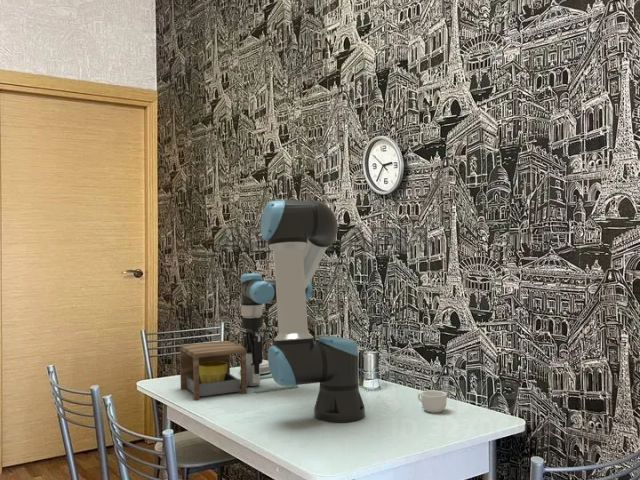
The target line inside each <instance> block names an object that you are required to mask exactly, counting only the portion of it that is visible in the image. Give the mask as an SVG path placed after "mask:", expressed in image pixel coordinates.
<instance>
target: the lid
mask: <svg viewBox="0 0 640 480" xmlns="http://www.w3.org/2000/svg"><path fill="white" fill-rule="evenodd" d="M239 366H240V367H241V364H239ZM239 372H240V373H241V369H240V371H239ZM268 373H271V372H270V368H269V363H268V359H267V360H266V359H262V363H261V364H260V375H262V374H263V375H265V374H268Z"/></svg>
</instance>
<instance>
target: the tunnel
mask: <svg viewBox="0 0 640 480" xmlns="http://www.w3.org/2000/svg"><path fill="white" fill-rule="evenodd" d="M236 354H237V355H239V354H240V356H239V358H240V364H241V366H240V370H241V372H240V379H241V387H240V394H241V395H247V392H248V390H247V387H248V386H246V348H244V347H243V346H241V345H239V344H237V343H234V342H232V341H230V340H222V341H212V342H200V343H192V344H191V343H190V344H189V343H188V344H181V345H179V358H180V359H179V360H180V361H179V366H180V367H179V369H180V370H179V371H180V374H179V375H180V378H179V379H180V389H181V390H189V389H188V388H187V385H186V376H193V384H194V393H193V400H194V401H195V400H196V401H200V397H199V363H200V362H204V361H224V362H227V373H229V374H231V367H230V365H231V364H230V363H231V360H230V359H231V358H230V355H236ZM240 364H239V365H240Z"/></svg>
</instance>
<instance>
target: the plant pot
mask: <svg viewBox="0 0 640 480" xmlns="http://www.w3.org/2000/svg"><path fill="white" fill-rule="evenodd" d="M226 373H227V362H224V361H204V362H200V363H199V375H200V380H201V384H203V383H212V382H220V381H224V378H225V374H226Z"/></svg>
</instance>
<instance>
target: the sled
mask: <svg viewBox="0 0 640 480" xmlns="http://www.w3.org/2000/svg"><path fill="white" fill-rule="evenodd" d="M252 363H253V360H252V352H251V353H246V387H248V386H249V387H255V386H256V387H257V386H260V385H261V382H260V383H252V365H251V364H252ZM239 379H240V378H238V377H236V376H234V375H232V374H231V373H230V374H229V373H226V374H225V378H224V381H220V382H212V383H203V384H201V380H200V375H199V398H200V397H205V396H215V395H221V394H222V395H223V394H229V393H230V394H231V393H235V392H237V393H238V392H241V381H240V380H239ZM186 385H187V388H188V389H187V390H189V391H190V392H192V394H194V384H193V376H186Z"/></svg>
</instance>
